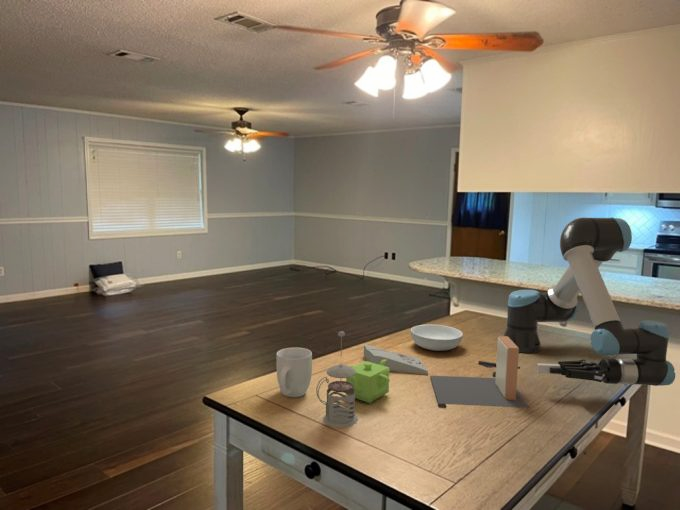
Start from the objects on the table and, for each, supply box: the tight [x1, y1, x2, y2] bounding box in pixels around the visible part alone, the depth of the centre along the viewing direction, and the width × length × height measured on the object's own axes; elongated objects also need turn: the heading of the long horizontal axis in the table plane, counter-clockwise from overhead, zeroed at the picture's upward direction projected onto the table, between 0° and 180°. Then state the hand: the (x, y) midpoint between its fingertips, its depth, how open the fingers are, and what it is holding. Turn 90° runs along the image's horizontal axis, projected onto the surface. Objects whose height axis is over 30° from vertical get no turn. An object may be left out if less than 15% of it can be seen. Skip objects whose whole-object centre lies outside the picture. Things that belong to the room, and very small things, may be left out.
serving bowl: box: [410, 324, 464, 352], centre depth 195 cm, size 21×21×7 cm
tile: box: [495, 335, 520, 400], centre depth 149 cm, size 12×3×16 cm, turn 176°
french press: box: [316, 330, 359, 429], centre depth 130 cm, size 10×12×25 cm
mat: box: [429, 375, 530, 409], centre depth 151 cm, size 22×26×1 cm
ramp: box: [363, 344, 429, 376], centre depth 174 cm, size 28×16×5 cm, turn 53°
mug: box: [275, 347, 313, 398], centre depth 146 cm, size 15×11×13 cm
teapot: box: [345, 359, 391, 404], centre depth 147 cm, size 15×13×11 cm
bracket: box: [477, 360, 521, 378], centre depth 169 cm, size 14×15×3 cm
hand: (537, 368), depth 148 cm, fingers closed
